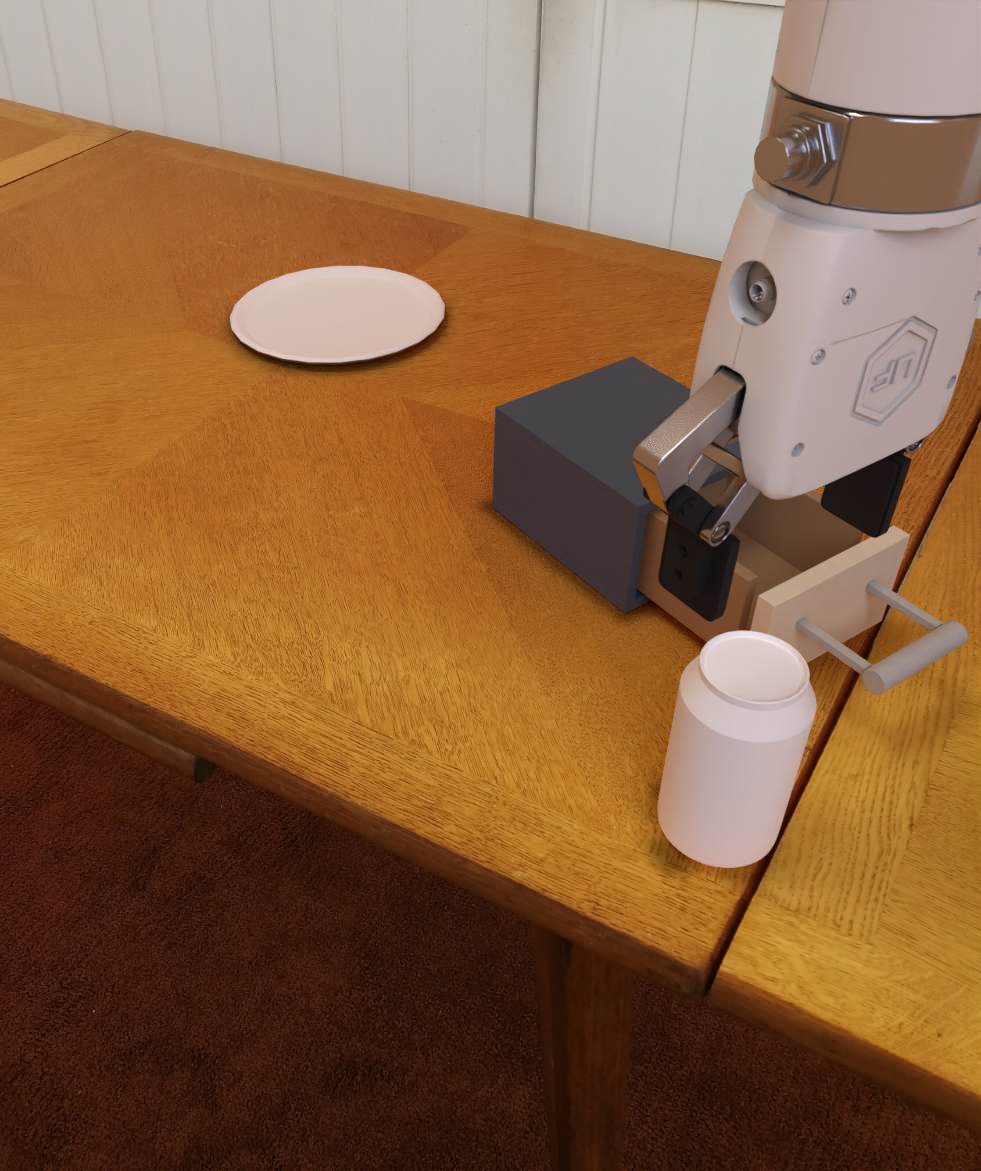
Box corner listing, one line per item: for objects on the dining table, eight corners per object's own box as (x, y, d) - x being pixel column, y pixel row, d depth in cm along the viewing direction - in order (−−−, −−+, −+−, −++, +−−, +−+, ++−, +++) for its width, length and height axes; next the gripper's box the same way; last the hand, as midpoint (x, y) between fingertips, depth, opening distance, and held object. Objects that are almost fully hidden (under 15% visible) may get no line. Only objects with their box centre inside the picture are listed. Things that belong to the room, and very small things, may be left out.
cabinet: (761, 546, 76) (785, 441, 70) (624, 614, 71) (639, 507, 65) (621, 454, 86) (632, 355, 80) (491, 507, 81) (494, 406, 75)
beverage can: (742, 774, 60) (784, 611, 53) (797, 864, 56) (851, 700, 48) (636, 795, 59) (663, 632, 52) (683, 889, 55) (720, 725, 47)
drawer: (969, 678, 64) (1007, 590, 60) (838, 761, 60) (868, 672, 55) (724, 517, 77) (740, 435, 73) (600, 575, 73) (610, 491, 68)
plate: (371, 259, 116) (371, 247, 116) (488, 329, 103) (489, 317, 102) (195, 311, 108) (193, 299, 107) (297, 396, 94) (295, 383, 93)
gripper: (782, 243, 29) (686, 693, 40) (1147, 122, 36) (980, 534, 47) (597, 165, 34) (557, 585, 45) (950, 73, 41) (841, 456, 52)
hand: (774, 559), depth 46 cm, fingers open, 9 cm apart
